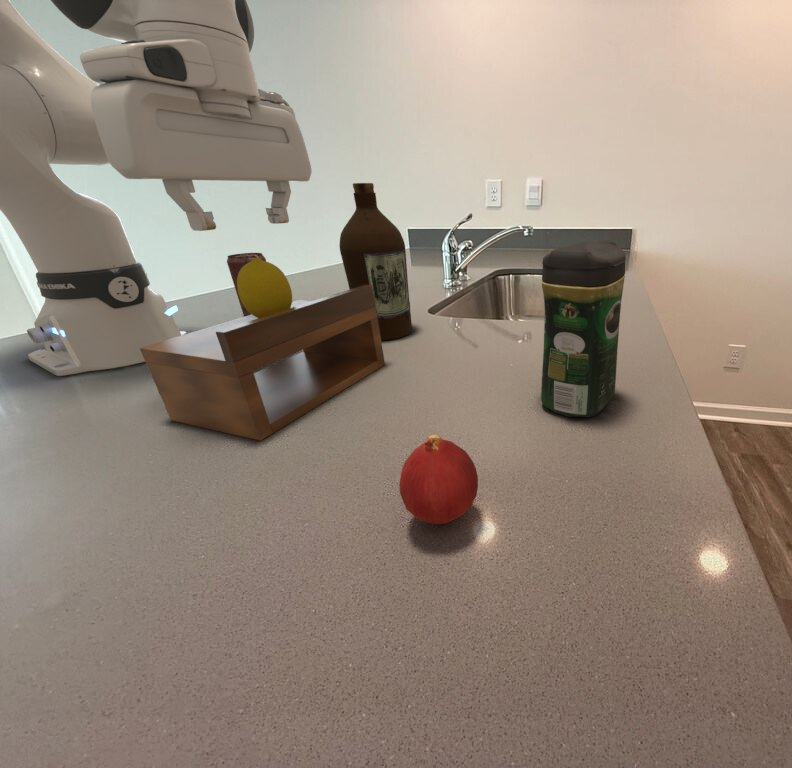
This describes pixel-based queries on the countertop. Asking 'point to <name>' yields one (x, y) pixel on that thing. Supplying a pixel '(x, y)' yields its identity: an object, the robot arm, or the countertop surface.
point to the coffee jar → (581, 326)
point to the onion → (438, 481)
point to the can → (235, 266)
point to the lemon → (263, 288)
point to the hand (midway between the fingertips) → (245, 226)
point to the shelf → (262, 345)
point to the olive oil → (377, 262)
